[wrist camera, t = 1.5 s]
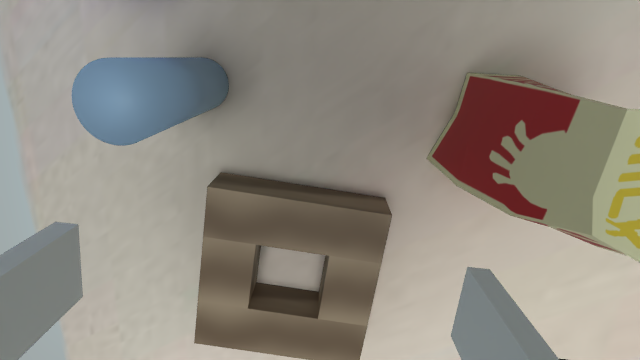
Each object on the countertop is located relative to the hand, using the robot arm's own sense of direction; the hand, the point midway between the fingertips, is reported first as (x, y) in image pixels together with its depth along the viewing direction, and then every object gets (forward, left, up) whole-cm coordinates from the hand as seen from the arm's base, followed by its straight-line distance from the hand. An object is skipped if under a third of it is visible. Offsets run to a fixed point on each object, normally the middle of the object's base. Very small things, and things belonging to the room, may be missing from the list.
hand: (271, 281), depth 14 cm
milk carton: (-4, +15, -21) cm, 26 cm away
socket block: (+10, 0, -21) cm, 23 cm away
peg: (-4, -9, -21) cm, 23 cm away
